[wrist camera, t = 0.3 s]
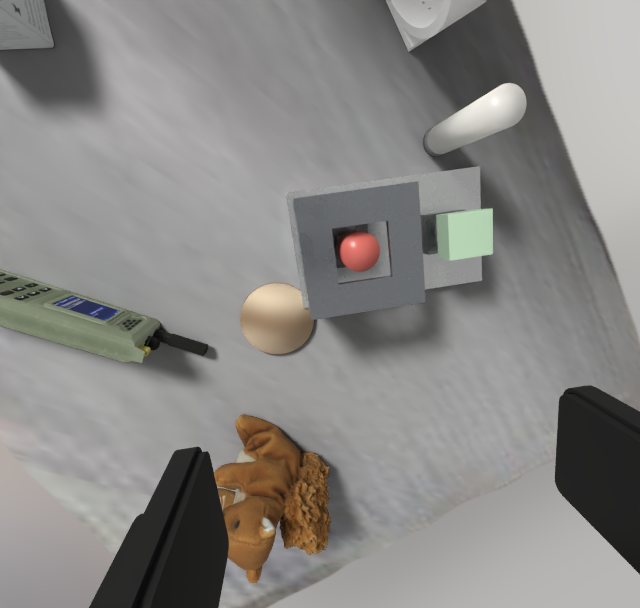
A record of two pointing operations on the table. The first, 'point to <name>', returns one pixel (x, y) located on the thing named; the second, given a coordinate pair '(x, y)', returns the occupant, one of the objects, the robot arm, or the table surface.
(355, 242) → the plunger
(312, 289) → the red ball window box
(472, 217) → the on button
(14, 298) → the handheld radio
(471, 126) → the white rounded rod
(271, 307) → the cork coaster
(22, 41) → the skincare box
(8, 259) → the table surface
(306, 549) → the brown rounded furry figure
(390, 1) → the headphone stand
